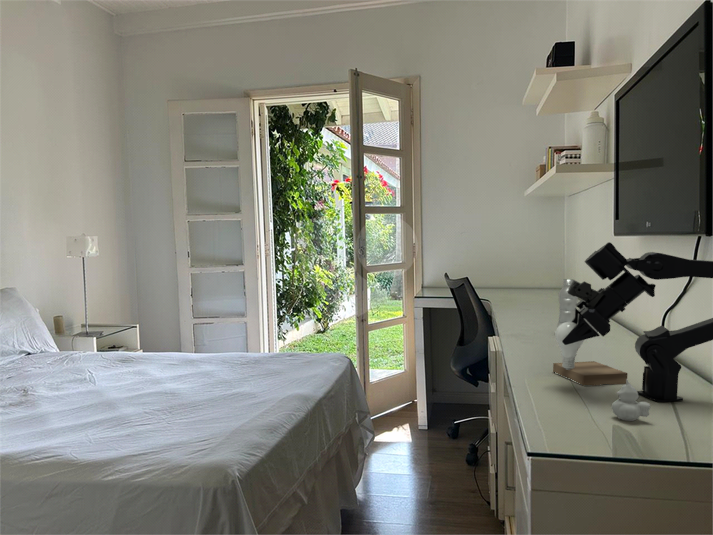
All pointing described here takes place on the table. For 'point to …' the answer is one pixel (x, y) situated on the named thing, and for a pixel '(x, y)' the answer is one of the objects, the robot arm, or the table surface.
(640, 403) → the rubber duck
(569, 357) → the lightbulb
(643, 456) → the table surface
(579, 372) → the walnut plinth
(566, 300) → the plastic bottle
